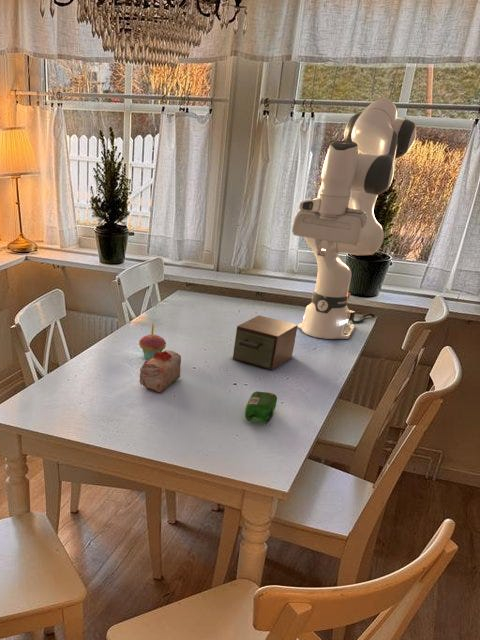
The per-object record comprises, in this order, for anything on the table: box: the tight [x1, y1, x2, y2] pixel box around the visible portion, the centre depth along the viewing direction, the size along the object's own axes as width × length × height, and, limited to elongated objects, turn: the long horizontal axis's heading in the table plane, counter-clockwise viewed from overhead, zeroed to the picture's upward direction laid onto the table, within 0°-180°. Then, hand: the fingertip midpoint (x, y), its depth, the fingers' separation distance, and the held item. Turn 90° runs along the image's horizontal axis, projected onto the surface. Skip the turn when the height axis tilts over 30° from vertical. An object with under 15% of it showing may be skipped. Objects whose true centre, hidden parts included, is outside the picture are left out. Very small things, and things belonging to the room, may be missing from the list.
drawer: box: [232, 329, 275, 368], centre depth 205 cm, size 18×13×9 cm
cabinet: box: [232, 315, 299, 371], centre depth 208 cm, size 15×14×11 cm
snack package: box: [244, 390, 278, 424], centre depth 173 cm, size 7×16×5 cm, turn 161°
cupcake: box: [138, 322, 167, 360], centre depth 205 cm, size 9×8×12 cm
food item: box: [139, 349, 182, 393], centre depth 187 cm, size 14×8×10 cm, turn 151°
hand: (322, 255), depth 192 cm, fingers closed
